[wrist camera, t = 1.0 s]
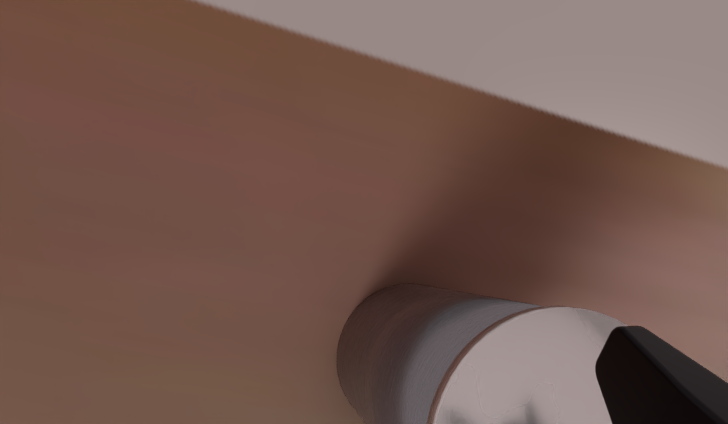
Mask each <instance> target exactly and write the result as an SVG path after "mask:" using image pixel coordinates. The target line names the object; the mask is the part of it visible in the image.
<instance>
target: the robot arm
mask: <svg viewBox="0 0 728 424" xmlns="http://www.w3.org/2000/svg"><path fill="white" fill-rule="evenodd" d="M595 373H596V378H597V381H598V384H599V387H600V390H601V393H602V396H603V398H604V401H605V404H606V407H607V410H608V413H609V416H610V419H611V422H612V424H728V383H727V382H725V381H724V380H722V379H721V378H719V377H718V376H716V375H715V374H713V373H712V372H710V371H709V370H707V369H706V368H704V367H703V366H701V365H700V364H698V363H697V362H695V361H694V360H692V359H691V358H689V357H688V356H686V355H685V354H683V353H682V352H680V351H679V350H677V349H676V348H674V347H673V346H671V345H670V344H668V343H667V342H665V341H664V340H662V339H661V338H659V337H658V336H656V335H655V334H653V333H652V332H650V331H649V330H647V329H645V328H644V327H641V326H619V327H616V328H614V329H613V330H612V331H611V333H610V334H609V336H608V338H607V340H606V342H605V344H604V346H603V348H602V350H601V352H600V354H599V356H598V358H597V361H596V365H595Z"/></svg>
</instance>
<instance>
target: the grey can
mask: <svg viewBox="0 0 728 424" xmlns="http://www.w3.org/2000/svg"><path fill="white" fill-rule="evenodd" d="M619 326H627V325H626V324H624V323H622V322H621V321H619V320H617V319H615V318H612V317H610V316H608V315H605V314H602V313H599V312H595V311H591V310H587V309H581V308H575V307H566V306H539V305H533V304H527V303H522V302H516V301H510V300H505V299H499V298H493V297H488V296H482V295H476V294H471V293H465V292H459V291H454V290H448V289H442V288H437V287H431V286H425V285H419V284H399V285H393V286H390V287H387V288H384V289H382V290H380V291H377V292H376V293H374V294H372V295H371V296H369V297H368V298H367V299H365V300H364V301H363V302H362V303H361V304H360V305H359V306H358V307H357V308H356V309H355V310H354V311H353V313H352V314H351V315H350V317H349V318H348V320H347V322H346V324H345V326H344V328H343V330H342V333H341V335H340V339H339V343H338V349H337V371H338V377H339V381H340V384H341V387H342V389H343V392H344V394H345V396H346V397H347V399H348V401H349V402H350V404H351V405H352V406H353V408H354V409H355V410H356V411H357V413H358V414H359V415H360V416H361V418H362V419H363V420H364V422H365V423H366V424H612V422H611V419H610V416H609V413H608V410H607V407H606V404H605V401H604V398H603V396H602V393H601V390H600V387H599V384H598V381H597V378H596V373H595V365H596V361H597V358H598V356H599V354H600V352H601V350H602V348H603V346H604V344H605V342H606V340H607V338H608V336H609V334H610V333H611V331H612V330H613V329H614V328H616V327H619Z"/></svg>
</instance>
